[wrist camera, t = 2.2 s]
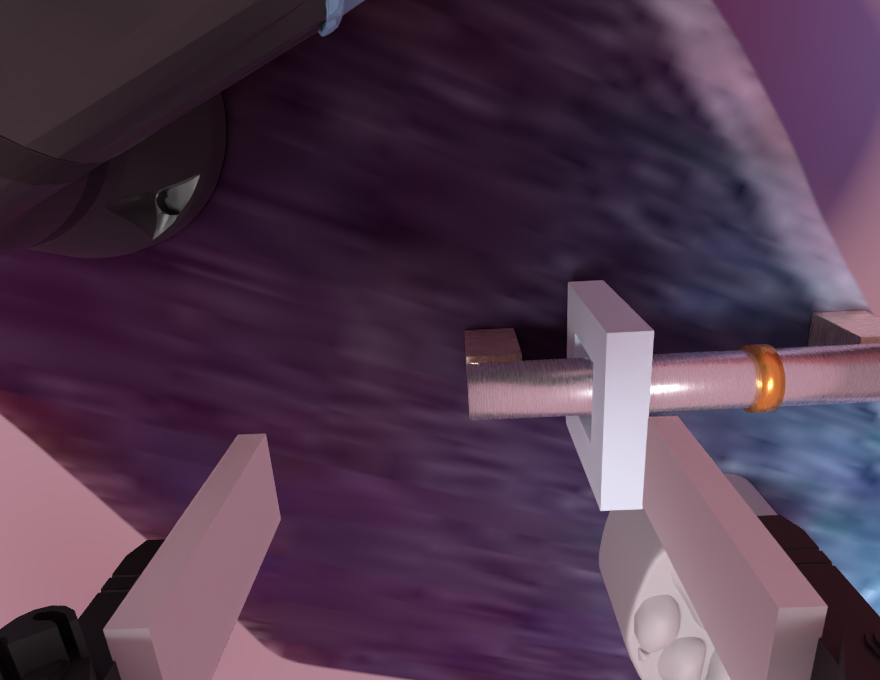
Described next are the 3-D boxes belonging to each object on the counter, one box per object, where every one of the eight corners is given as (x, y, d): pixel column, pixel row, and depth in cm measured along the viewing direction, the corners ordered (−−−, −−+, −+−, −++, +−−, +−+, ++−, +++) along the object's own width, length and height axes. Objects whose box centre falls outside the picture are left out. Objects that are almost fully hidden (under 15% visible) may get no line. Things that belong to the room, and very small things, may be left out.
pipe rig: (466, 377, 38) (470, 437, 30) (464, 325, 36) (467, 374, 29) (854, 358, 37) (954, 415, 29) (864, 304, 36) (971, 349, 28)
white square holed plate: (566, 422, 37) (600, 510, 28) (567, 281, 34) (606, 333, 25) (598, 421, 37) (642, 509, 28) (603, 280, 34) (654, 330, 25)
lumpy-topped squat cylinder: (774, 478, 40) (857, 568, 32) (720, 628, 44) (781, 741, 36) (621, 460, 40) (665, 547, 31) (582, 613, 44) (612, 724, 36)
